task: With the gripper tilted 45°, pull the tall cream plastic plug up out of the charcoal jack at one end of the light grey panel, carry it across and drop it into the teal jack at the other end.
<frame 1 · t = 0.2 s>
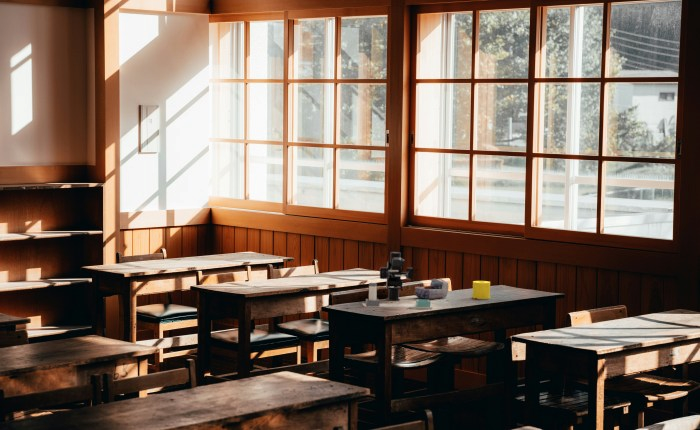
hand: (398, 275, 579), 17 cm above the table, tool horizontal, fingers open, 9 cm apart
yellow cylinder: (481, 298, 620), on the table
cell model: (430, 298, 616), on the table
plug: (372, 305, 574), point 1 cm above the table, touching panel
panel: (397, 307, 576), on the table
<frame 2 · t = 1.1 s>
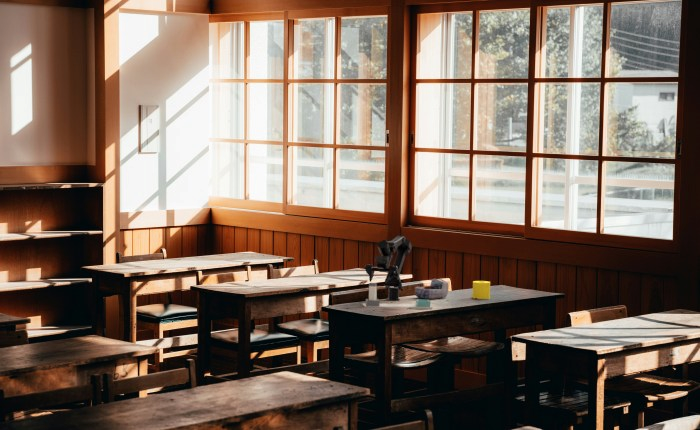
hand: (377, 281, 580), 13 cm above the table, tool tilted 45°, fingers open, 9 cm apart
nothing on the table moved.
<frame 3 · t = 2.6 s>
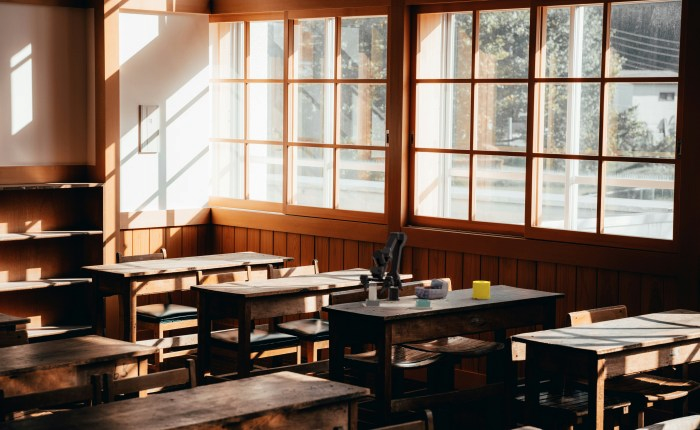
hand: (372, 292, 573), 8 cm above the table, tool tilted 45°, fingers open, 9 cm apart
nothing on the table moved.
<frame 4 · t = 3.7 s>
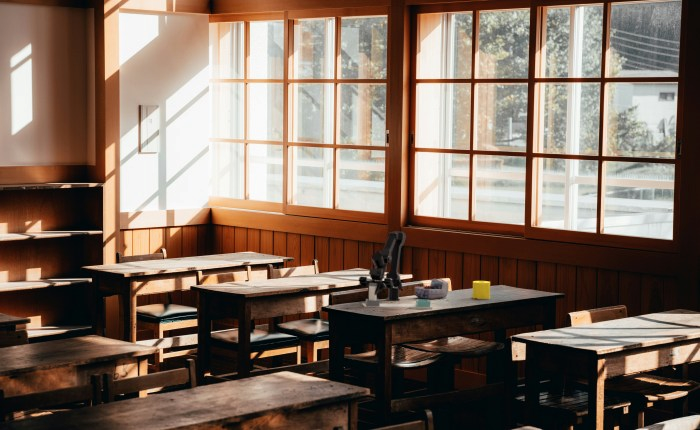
hand: (371, 294, 572), 7 cm above the table, tool tilted 45°, fingers closed on plug, 3 cm apart
plug: (372, 305, 574), point 1 cm above the table, touching gripper, panel
everything else where it was.
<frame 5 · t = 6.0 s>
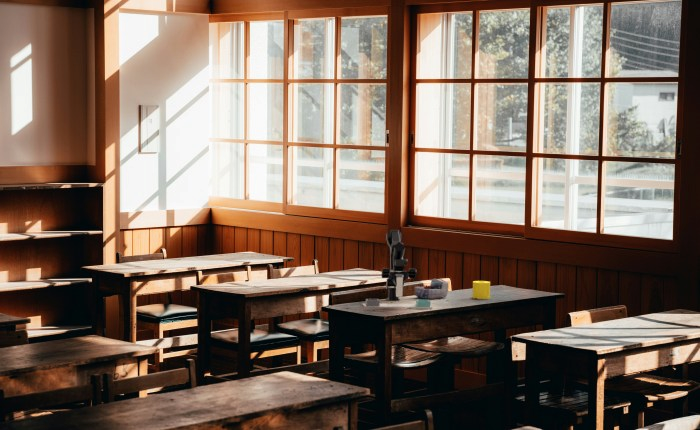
hand: (399, 285, 570), 12 cm above the table, tool tilted 45°, fingers closed on plug, 3 cm apart
plug: (399, 296, 571), point 6 cm above the table, touching gripper
everything else where it was.
when the fingers open (9 cm above the table, at t = 8.1 s): plug drops 1 cm, resting on panel.
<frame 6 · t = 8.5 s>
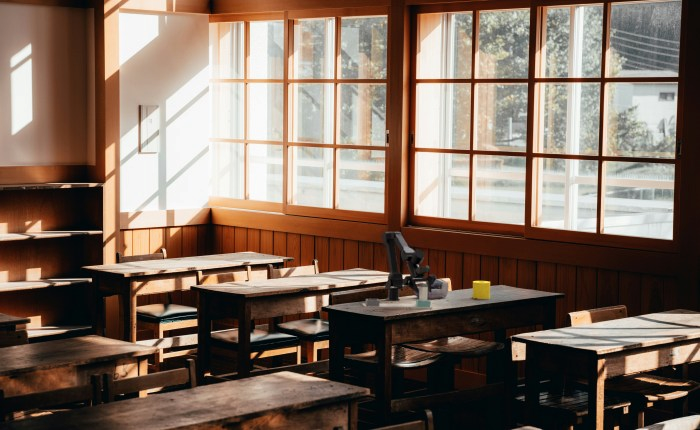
hand: (424, 292, 573), 9 cm above the table, tool tilted 45°, fingers open, 7 cm apart
plug: (423, 305, 575), point 1 cm above the table, touching panel
everything else where it was.
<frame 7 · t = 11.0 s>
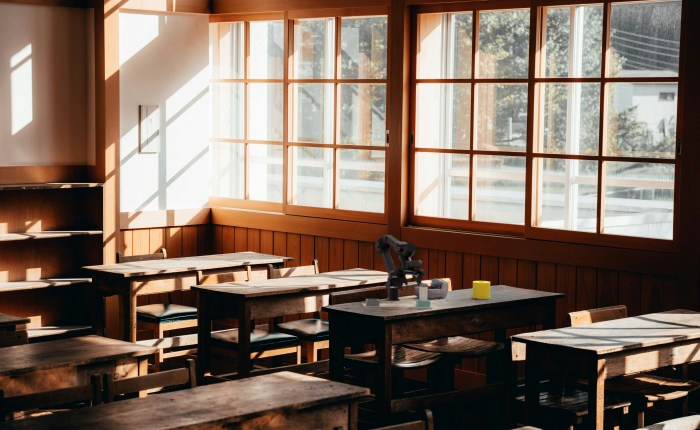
hand: (413, 285, 581), 11 cm above the table, tool tilted 40°, fingers open, 9 cm apart
nothing on the table moved.
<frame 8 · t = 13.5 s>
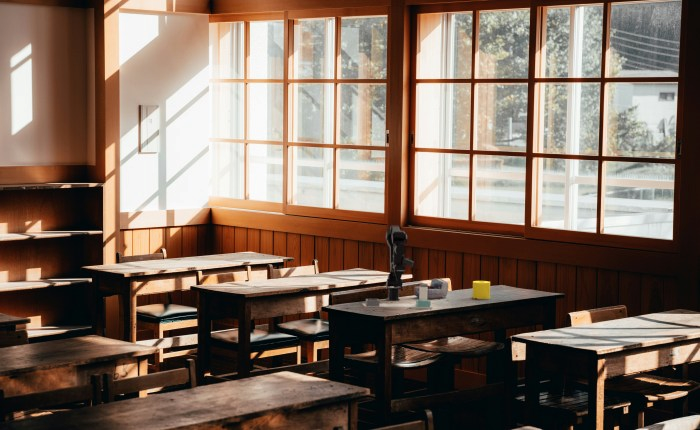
hand: (397, 281, 586), 12 cm above the table, tool pointing down, fingers open, 9 cm apart
at the end: plug 0.1 cm from the target spot on the panel, point 1.0 cm above the panel's base; plug tilted 0°; the gripper is holding nothing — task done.
